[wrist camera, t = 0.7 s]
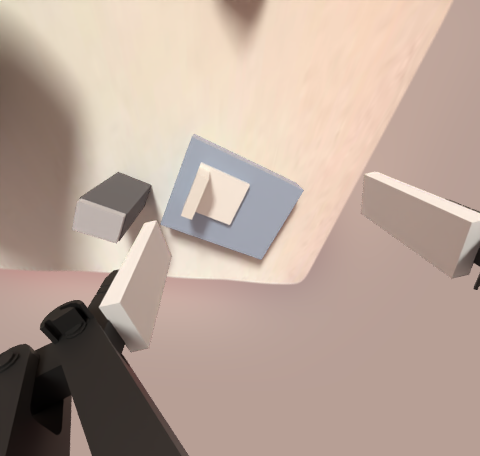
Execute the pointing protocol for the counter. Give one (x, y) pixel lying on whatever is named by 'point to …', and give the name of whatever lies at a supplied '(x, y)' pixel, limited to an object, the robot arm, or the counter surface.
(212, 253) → the counter surface
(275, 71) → the counter surface
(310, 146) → the counter surface
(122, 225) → the plug
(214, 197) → the shutter
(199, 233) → the socket board
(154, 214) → the counter surface
